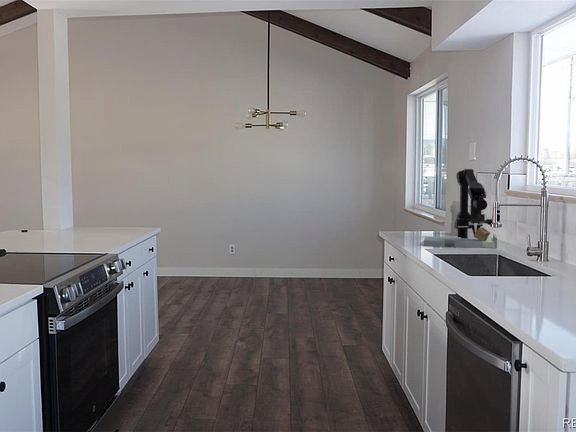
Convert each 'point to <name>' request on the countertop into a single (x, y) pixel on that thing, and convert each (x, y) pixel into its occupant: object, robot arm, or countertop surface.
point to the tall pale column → (455, 216)
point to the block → (481, 234)
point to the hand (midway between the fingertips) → (475, 237)
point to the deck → (460, 242)
